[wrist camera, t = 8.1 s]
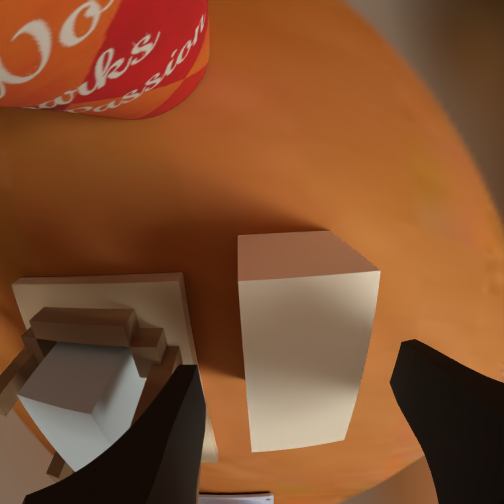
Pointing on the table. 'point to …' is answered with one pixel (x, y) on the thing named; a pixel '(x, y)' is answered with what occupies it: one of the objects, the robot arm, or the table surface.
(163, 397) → the robot arm
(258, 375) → the cream white block
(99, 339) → the jig
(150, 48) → the paper cup
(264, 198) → the table surface
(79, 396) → the grey block
